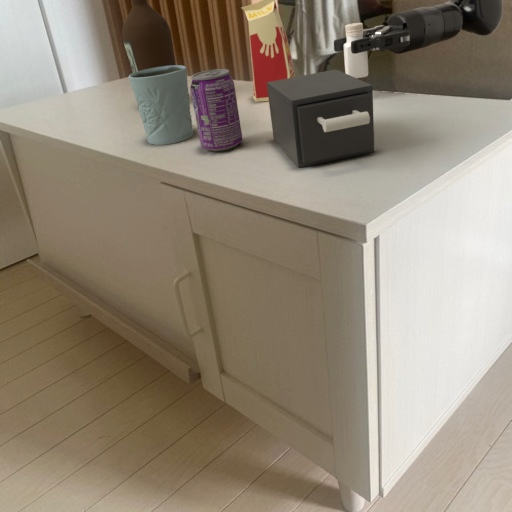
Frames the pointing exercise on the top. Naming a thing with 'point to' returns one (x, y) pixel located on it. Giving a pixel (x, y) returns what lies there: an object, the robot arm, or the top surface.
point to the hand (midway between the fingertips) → (343, 46)
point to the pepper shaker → (355, 62)
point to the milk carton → (267, 47)
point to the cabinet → (303, 92)
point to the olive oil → (147, 38)
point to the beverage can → (216, 109)
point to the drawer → (335, 127)
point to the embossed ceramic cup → (163, 103)
